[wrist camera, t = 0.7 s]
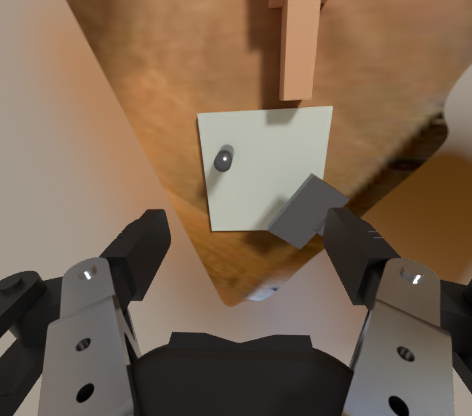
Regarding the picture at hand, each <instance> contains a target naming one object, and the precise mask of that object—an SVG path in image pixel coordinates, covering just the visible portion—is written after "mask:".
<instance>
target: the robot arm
mask: <svg viewBox="0 0 472 416" xmlns="http://www.w3.org/2000/svg"><path fill="white" fill-rule="evenodd" d="M170 243H171V234H170V230H169V226H168V221H167V217H166V213H165V211H164V210H163V209H148V210H146V211H145V213H144V214H143V215H142V216H141V217H140V218H139V219H137V220H135V221H133V222H132V223H130V224H129V225H127V226H126V228H125V229H124V230H123V231H122V233H120V234H119V235H118V236H117V239H115V240H114V241H113V242H112V243H111V244H110V245H109V246H108V247H107V248H106V249H105V250H104V252H103V253H102V254H101V255H100V256H99V257H95V258H90V259H87V260H84V261H81V262H79V263H78V264H76V265H74V266H73V267H71V268H70V269H69V270H68V271H67V272H66V273H65V274H64V276H63V277H58V278H54V279H49V280H45V281H43V280H42V279H41V277H40V276H39V274H38V273H37V272H35V271H24V272H20V273H17V274H14V275H11V276H9V277H7V278H4V279H2V280H1V281H0V338H1V337H2V336H3V334H5V333H6V332H7V330H8V329H9V331H10V332H11V333H12V334H13V335H14V336H15V337H16V338H17V339H16V341H15V342H14V343H13V344H12V345H11V346H10V347H9V348H8V349H7V351H6V352H5V353H4V354H3V355H2V356H1V357H0V416H13V415H14V413H15V412H16V410H17V409H18V408H19V406H20V405H21V403H22V402H23V400H24V399H25V397H26V396H27V394H28V393H29V391H30V390H31V389H32V387H33V386H34V384H35V383H36V381H37V380H38V378H39V377H40V375H41V374H42V382H41V391H40V400H39V408H38V416H454V395H453V394H454V393H453V369H452V368H454V369H455V371H456V372H457V373H458V375H459V376H460V378H461V379H462V381H463V382H464V383H465V385H466V386H467V388H468V389H469V391H470V392H471V394H472V279H471V281H470V283H469V284H468V285H463V284H458V283H453V282H449V281H444V280H440V279H439V278H438V276H437V275H436V274H435V273H434V272H433V271H432V270H430V269H429V268H427V267H426V266H424V265H422V264H420V263H418V262H415V261H412V260H408V259H404V258H401V257H400V256H399V255H398V254H397V253H396V252H395V250H394V249H393V248H392V247H391V246H390V245H389V244H388V243H387V242H386V241H385V240H384V239H383V238H382V237H381V235H380V234H379V233H378V232H376V230H375V229H374V228H373V227H372V226H371V225H370V224H369V223H367V222H366V221H364V220H362V219H361V218H356V217H355V216H354V214H353V213H352V212H351V211H350V210H349V209H348V208H347V207H333V208H329V209H328V211H327V216H326V222H325V227H324V232H323V244H324V247H325V249H326V251H327V254H328V256H329V257H330V259H331V261H332V264H333V265H334V267H335V270H336V272H337V274H338V275H339V278H340V280H341V282H342V283H343V285H344V288H345V290H346V291H347V294H348V296H349V298H350V300H351V302H352V303H353V305H365V306H366V307H367V309H368V311H367V314H366V316H365V320H364V323H363V326H362V329H361V332H360V335H359V338H358V341H357V344H356V347H355V350H354V353H353V356H352V359H351V362H350V364H349V367H348V366H346V365H345V364H344V363H342V362H341V361H339V360H338V359H336V358H334V357H333V356H331V355H329V354H327V353H325V352H323V351H320V350H318V349H315V348H313V347H312V343H311V339H310V336H309V335H272V336H267V337H263V338H259V339H255V340H251V341H247V342H244V343H236V342H233V341H229V340H226V339H223V338H220V337H216V336H213V335H210V334H207V333H189V332H187V333H186V332H172V334H171V337H170V341H169V344H167V345H163V346H161V347H158V348H155V349H153V350H151V351H149V352H148V353H146V354H144V355H143V356H142V355H141V353H140V350H139V346H138V343H137V339H136V335H135V331H134V327H133V324H132V320H131V316H130V312H129V310H128V305H129V303H130V301H142V300H143V298H144V296H145V294H146V292H147V290H148V288H149V286H150V284H151V282H152V280H153V279H154V277H155V275H156V272H157V271H158V268H159V267H160V265H161V262H162V261H163V258H164V257H165V255H166V253H167V251H168V249H169V247H170ZM42 372H43V373H42Z"/></svg>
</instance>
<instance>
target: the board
mask: <svg viewBox="0 0 472 416" xmlns="http://www.w3.org/2000/svg"><path fill="white" fill-rule="evenodd" d="M332 110H333V106H323V107H305V108H287V109H269V110H251V111H233V112H215V113H199V114H197V115H198V123H199V131H200V139H201V147H202V155H203V163H204V171H205V179H206V187H207V195H208V203H209V211H210V219H211V227H212V231H236V230H267V226H268V224H269V223H270V222H271V221H272V220H273V218H274V217H275V216H276V215H277V214H278V212H279V211H280V210H281V209H282V208H283V206H284V205H285V204H286V203H287V202H288V200H289V199H290V198H291V197H292V196H293V194H294V193H295V192H296V191H297V190H298V188H299V187H300V186H301V185H302V184H303V182H304V181H305V180H306V179H307V178H308V177H309V175H310V174H311V173H313V174H314V175H316V176H317V177H319V178H320V179H322V180H323V174H324V166H325V159H326V152H327V145H328V138H329V131H330V124H331V117H332ZM226 144H228V145H231V146H232V147H233V149H234V156H233V160H232V164H231V167H230V169H229V170H228V171H226V172H219V171H218V170H216V169H215V167H214V159H215V158H216V156H217V154H218V152H219V150H220V149H221V147H222V146H223V145H226Z"/></svg>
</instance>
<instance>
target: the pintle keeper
mask: <svg viewBox="0 0 472 416" xmlns="http://www.w3.org/2000/svg"><path fill="white" fill-rule="evenodd" d="M233 156H234V149H233V147H232V146H231V145H228V144H226V145H223V146H222V147H221V149H220V150H219V152H218V154H217V156H216V158H215V159H214V167H215V169H216V170H218V171H219V172H226V171H228V170H229V169H230V167H231V164H232V160H233ZM349 200H350V199H349V198H348V197H347V196H345V195H344V194H342V193H341V192H339V191H338V190H336V189H335V188H333V187H332V186H331V185H329V184H328V183H326V182H325V181H323V180H322V179H320V178H319V177H317V176H316V175H314V174H313V173H311V174H310V175H309V177H308V178H307V179H306V180H305V181H304V182H303V184H302V185H301V186H300V187H299V188H298V190H297V191H296V192H295V193H294V194H293V196H292V197H291V198H290V199H289V200H288V202H287V203H286V204H285V205H284V206H283V208H282V209H281V210H280V211H279V212H278V214H277V215H276V216H275V217H274V218H273V220H272V221H271V222H270V223H269V224H268V226H267V231H269V232H271V233H273V234H274V235H276V236H278V237H280V238H281V239H283V240H285V241H286V242H288V243H290V244H292V245H293V246H295V247H297V248H299V249H301V248H302V247H303V246H304V245H305V244H306V243H307V242H308V241H309V240H310V239H311V238H312V237H313V236H314V235H315V234H316V233H318V234H320V235H322V236H323V232H324V227H325V222H326V216H327V211H328V209H329V208H333V207H343V206H344V205H345V204H346V203H347V202H348V201H349Z"/></svg>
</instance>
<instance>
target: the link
mask: <svg viewBox="0 0 472 416" xmlns="http://www.w3.org/2000/svg"><path fill="white" fill-rule="evenodd" d="M326 1H327V0H268V8H278V7H282V28H281V57H280V85H279V100H282V101H286V100H303V99H311V97H312V86H313V76H314V66H315V55H316V45H317V35H318V25H319V14H320V4H323V3H326Z"/></svg>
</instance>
